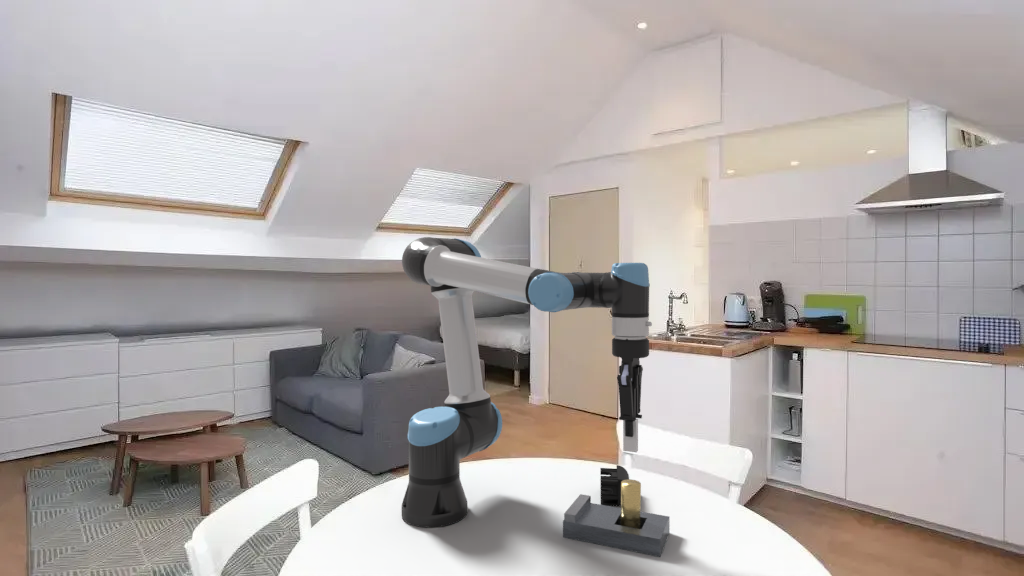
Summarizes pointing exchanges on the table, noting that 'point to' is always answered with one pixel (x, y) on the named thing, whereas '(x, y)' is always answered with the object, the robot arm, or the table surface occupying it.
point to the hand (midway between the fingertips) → (630, 450)
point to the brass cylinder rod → (630, 503)
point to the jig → (614, 527)
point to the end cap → (612, 485)
